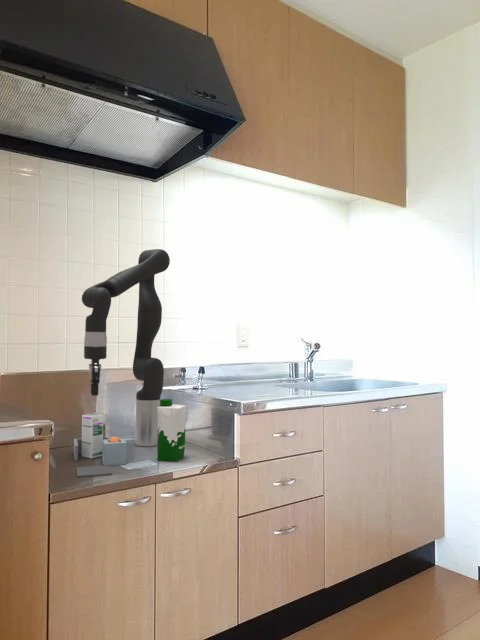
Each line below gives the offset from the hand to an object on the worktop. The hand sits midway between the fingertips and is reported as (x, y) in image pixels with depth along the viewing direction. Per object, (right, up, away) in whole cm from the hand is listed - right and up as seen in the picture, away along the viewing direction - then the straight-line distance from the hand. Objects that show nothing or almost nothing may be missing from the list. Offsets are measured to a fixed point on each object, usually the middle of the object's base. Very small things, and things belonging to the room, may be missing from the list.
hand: (94, 394), depth 181 cm
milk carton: (+27, -22, -3) cm, 35 cm away
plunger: (+9, -19, -9) cm, 23 cm away
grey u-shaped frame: (0, -21, -1) cm, 21 cm away
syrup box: (0, -21, -1) cm, 21 cm away
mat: (+6, -21, -21) cm, 30 cm away
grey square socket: (+9, -21, -9) cm, 25 cm away
